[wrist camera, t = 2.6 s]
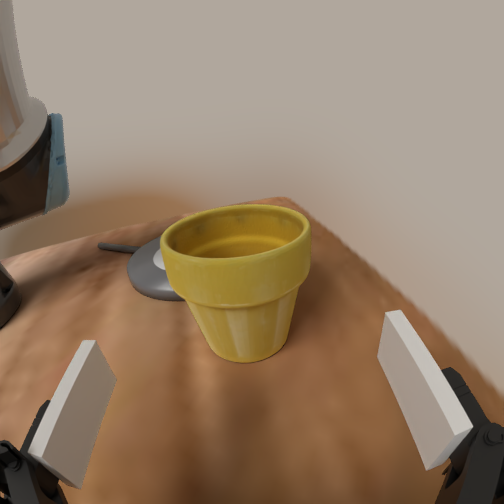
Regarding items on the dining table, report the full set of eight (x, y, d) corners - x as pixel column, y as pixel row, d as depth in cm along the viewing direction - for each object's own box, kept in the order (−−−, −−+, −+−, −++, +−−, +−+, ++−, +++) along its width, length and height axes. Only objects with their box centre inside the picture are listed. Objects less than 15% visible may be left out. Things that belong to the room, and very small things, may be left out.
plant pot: (303, 295, 29) (300, 197, 25) (320, 375, 20) (324, 251, 16) (198, 303, 30) (178, 209, 25) (177, 382, 20) (135, 267, 16)
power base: (60, 273, 39) (57, 264, 39) (134, 227, 54) (133, 219, 53) (227, 314, 28) (225, 301, 27) (287, 236, 42) (286, 226, 42)
